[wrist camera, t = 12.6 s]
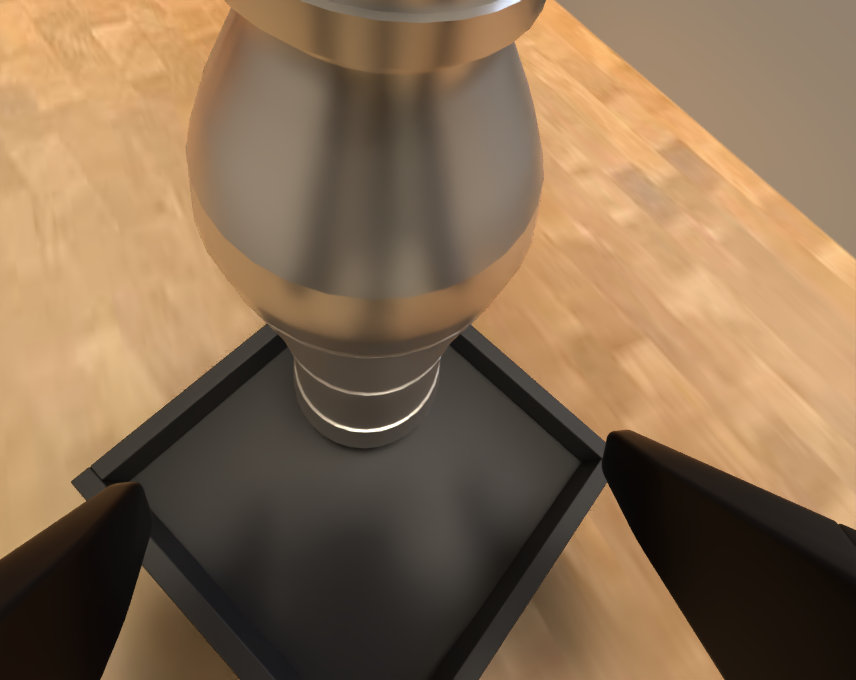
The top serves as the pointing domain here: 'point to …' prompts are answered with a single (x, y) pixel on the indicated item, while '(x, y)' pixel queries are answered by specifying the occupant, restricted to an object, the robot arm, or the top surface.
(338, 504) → the tray
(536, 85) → the top surface
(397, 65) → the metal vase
